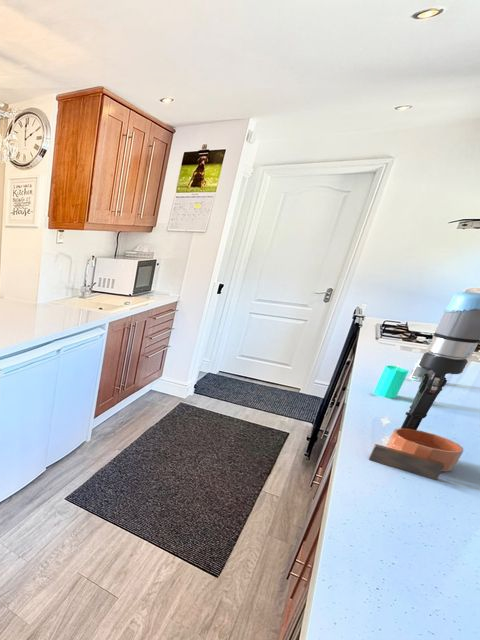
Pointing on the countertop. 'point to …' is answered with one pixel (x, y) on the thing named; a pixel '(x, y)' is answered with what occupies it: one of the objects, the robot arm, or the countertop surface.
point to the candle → (390, 381)
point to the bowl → (426, 446)
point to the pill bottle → (418, 372)
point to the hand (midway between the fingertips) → (404, 436)
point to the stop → (406, 461)
